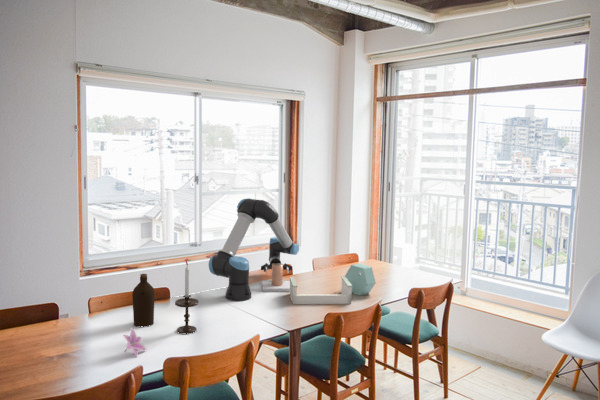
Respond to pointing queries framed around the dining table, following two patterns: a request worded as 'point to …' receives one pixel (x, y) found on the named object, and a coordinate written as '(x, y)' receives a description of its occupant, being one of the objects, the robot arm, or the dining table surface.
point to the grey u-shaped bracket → (322, 295)
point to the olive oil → (143, 303)
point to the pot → (277, 274)
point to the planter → (361, 278)
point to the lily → (134, 342)
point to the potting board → (276, 287)
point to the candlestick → (186, 305)
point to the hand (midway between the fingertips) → (277, 271)
